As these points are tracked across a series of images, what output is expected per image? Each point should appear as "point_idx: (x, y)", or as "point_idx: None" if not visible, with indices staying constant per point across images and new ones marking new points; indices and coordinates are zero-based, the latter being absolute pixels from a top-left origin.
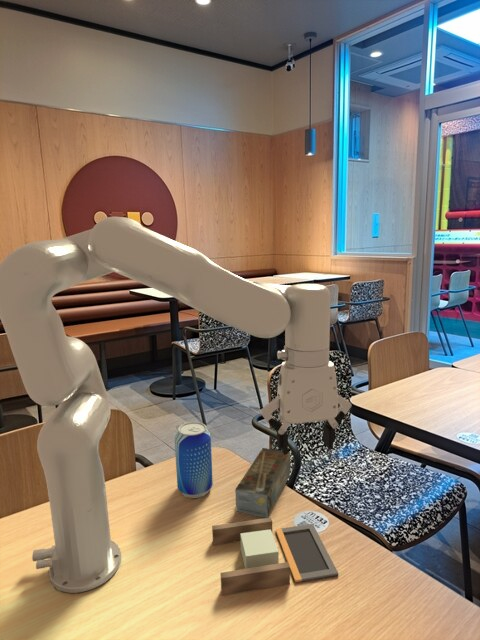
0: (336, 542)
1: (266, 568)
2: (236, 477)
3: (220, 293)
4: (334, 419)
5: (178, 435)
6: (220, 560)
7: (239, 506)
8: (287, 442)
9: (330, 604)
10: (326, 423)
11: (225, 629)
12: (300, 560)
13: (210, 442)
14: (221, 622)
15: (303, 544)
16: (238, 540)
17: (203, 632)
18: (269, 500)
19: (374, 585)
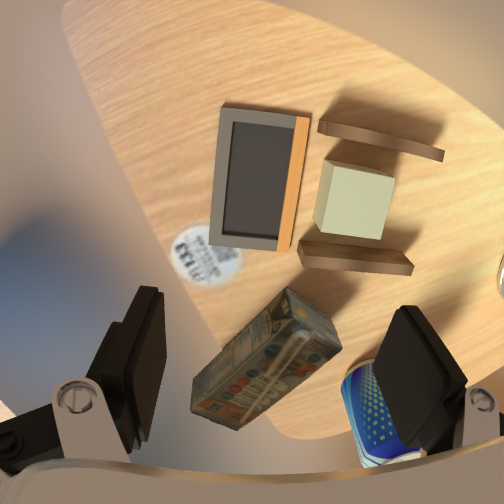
0: (182, 187)
1: (371, 136)
2: None
3: None
4: (65, 442)
5: None
6: (404, 215)
7: (330, 321)
8: (428, 349)
9: (268, 56)
10: (131, 437)
11: (438, 89)
12: (275, 162)
13: (367, 443)
14: (440, 102)
15: (250, 200)
16: (362, 248)
17: (462, 100)
18: (281, 313)
19: (167, 70)
